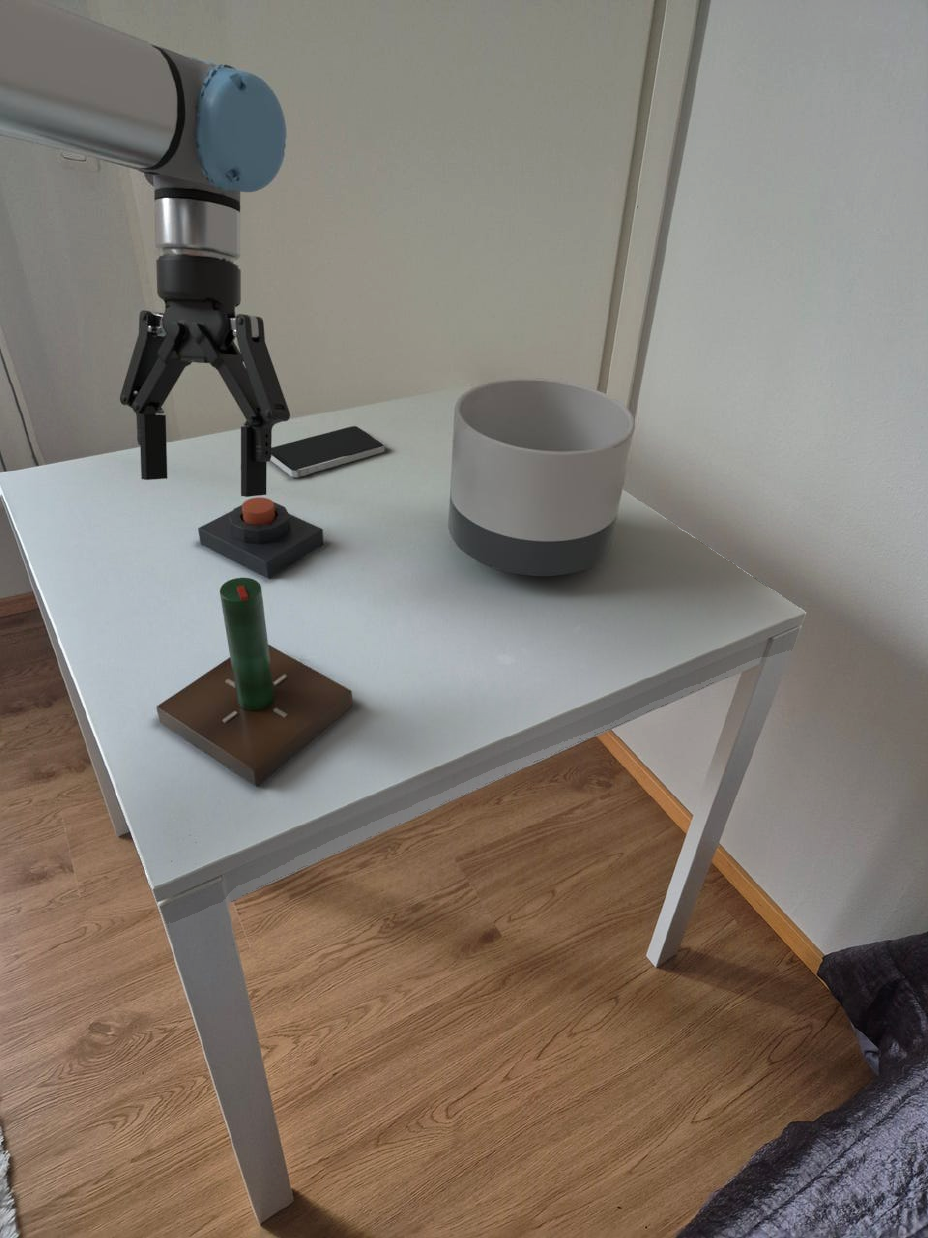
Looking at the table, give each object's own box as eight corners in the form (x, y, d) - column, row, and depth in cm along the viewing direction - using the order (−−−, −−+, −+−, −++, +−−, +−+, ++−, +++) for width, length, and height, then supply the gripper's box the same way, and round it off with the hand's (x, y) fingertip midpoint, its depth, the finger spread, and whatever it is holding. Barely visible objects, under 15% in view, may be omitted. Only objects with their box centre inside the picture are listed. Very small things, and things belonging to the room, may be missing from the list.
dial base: (159, 723, 71) (155, 705, 69) (259, 653, 79) (257, 636, 77) (256, 787, 66) (253, 769, 64) (352, 706, 74) (351, 689, 72)
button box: (200, 544, 93) (195, 514, 91) (257, 513, 99) (254, 485, 97) (268, 578, 89) (264, 548, 86) (323, 544, 95) (321, 515, 92)
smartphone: (386, 445, 114) (294, 471, 106) (386, 452, 115) (294, 480, 106) (354, 424, 118) (263, 448, 110) (354, 432, 119) (264, 456, 111)
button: (236, 519, 91) (234, 505, 90) (259, 506, 94) (258, 493, 93) (259, 530, 90) (257, 516, 89) (282, 517, 92) (280, 504, 91)
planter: (496, 615, 86) (512, 466, 75) (420, 527, 99) (424, 389, 88) (640, 575, 93) (673, 435, 82) (551, 498, 107) (570, 368, 96)
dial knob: (233, 690, 72) (215, 578, 64) (269, 682, 73) (255, 571, 65) (241, 714, 69) (223, 601, 62) (278, 705, 70) (264, 593, 63)
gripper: (331, 265, 72) (324, 499, 78) (138, 265, 83) (145, 470, 89) (275, 249, 66) (272, 506, 72) (74, 252, 77) (86, 474, 83)
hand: (202, 487), depth 80 cm, fingers open, 13 cm apart
